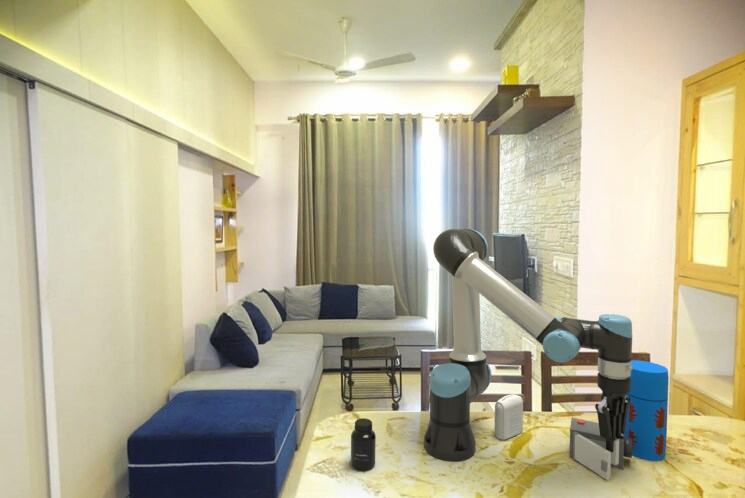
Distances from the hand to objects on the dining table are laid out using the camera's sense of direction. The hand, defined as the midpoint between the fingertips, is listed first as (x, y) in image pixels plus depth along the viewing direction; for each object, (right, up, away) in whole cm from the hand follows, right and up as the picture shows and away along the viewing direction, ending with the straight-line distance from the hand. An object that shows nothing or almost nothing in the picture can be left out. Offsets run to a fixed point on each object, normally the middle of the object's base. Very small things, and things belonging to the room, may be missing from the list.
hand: (611, 461), depth 106 cm
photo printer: (-20, -2, +20) cm, 29 cm away
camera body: (0, -3, +8) cm, 8 cm away
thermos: (+15, -3, +11) cm, 19 cm away
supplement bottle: (-66, -3, +5) cm, 66 cm away
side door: (-5, -3, +2) cm, 6 cm away
